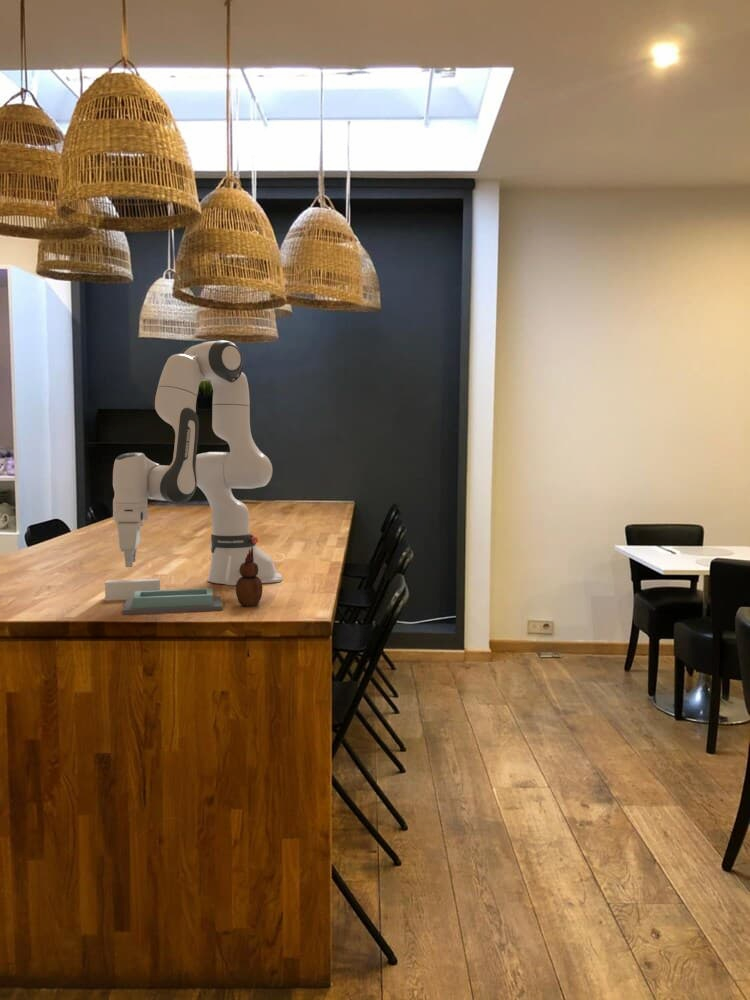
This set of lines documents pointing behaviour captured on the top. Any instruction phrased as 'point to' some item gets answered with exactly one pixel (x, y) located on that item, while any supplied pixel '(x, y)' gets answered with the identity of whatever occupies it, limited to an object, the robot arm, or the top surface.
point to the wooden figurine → (249, 582)
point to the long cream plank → (128, 588)
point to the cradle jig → (172, 601)
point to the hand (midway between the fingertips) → (130, 564)
